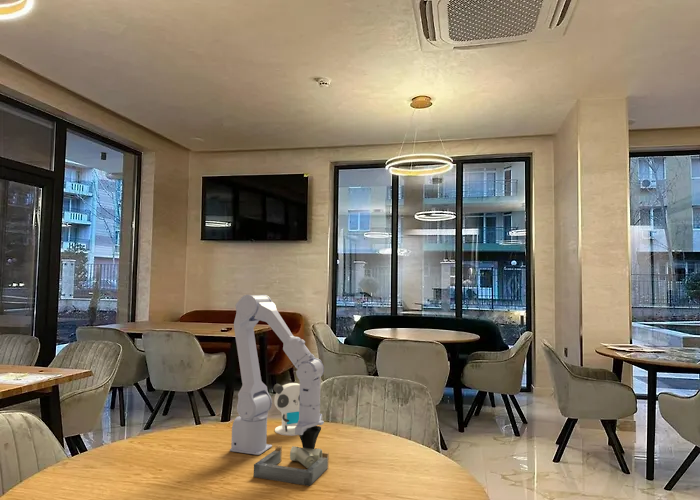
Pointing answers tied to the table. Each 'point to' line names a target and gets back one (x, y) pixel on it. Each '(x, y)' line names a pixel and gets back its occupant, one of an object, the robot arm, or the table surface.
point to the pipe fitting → (305, 455)
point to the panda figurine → (287, 407)
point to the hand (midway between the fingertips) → (308, 454)
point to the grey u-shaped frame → (289, 469)
